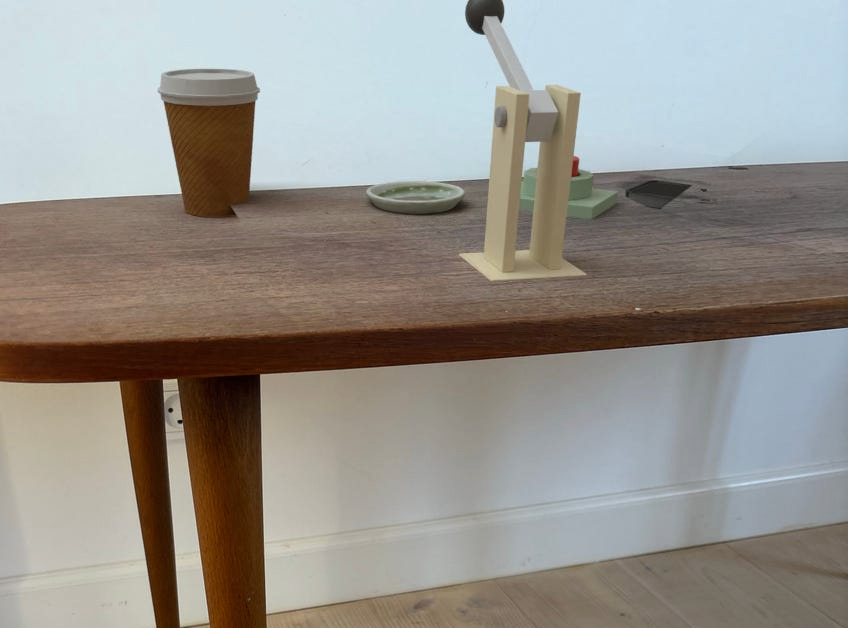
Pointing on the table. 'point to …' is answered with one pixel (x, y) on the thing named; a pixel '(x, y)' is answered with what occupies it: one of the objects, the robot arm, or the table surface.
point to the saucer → (442, 192)
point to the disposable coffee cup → (211, 136)
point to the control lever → (512, 67)
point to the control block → (571, 195)
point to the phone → (656, 192)
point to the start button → (575, 166)
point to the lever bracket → (549, 192)
